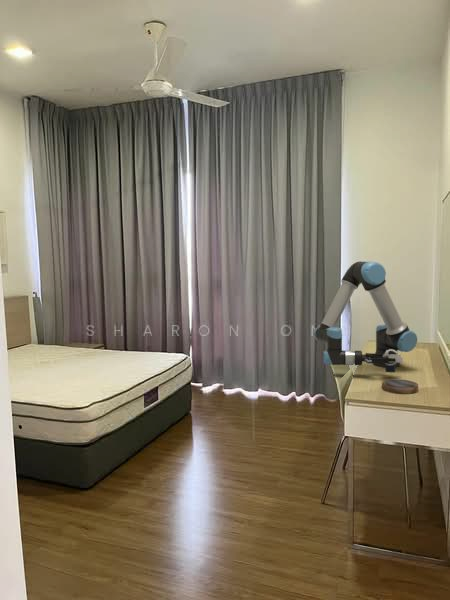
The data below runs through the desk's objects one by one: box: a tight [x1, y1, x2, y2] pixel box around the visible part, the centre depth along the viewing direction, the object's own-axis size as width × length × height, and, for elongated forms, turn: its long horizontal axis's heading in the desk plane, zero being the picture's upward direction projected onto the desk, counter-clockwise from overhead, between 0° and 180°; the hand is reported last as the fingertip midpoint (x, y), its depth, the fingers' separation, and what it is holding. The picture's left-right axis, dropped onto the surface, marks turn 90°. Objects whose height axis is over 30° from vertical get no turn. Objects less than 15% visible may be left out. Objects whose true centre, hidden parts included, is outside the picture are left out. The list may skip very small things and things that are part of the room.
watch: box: [383, 349, 400, 373], centre depth 244 cm, size 6×8×11 cm
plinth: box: [381, 378, 419, 395], centre depth 224 cm, size 16×16×3 cm
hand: (401, 358), depth 243 cm, fingers closed on watch, 5 cm apart
